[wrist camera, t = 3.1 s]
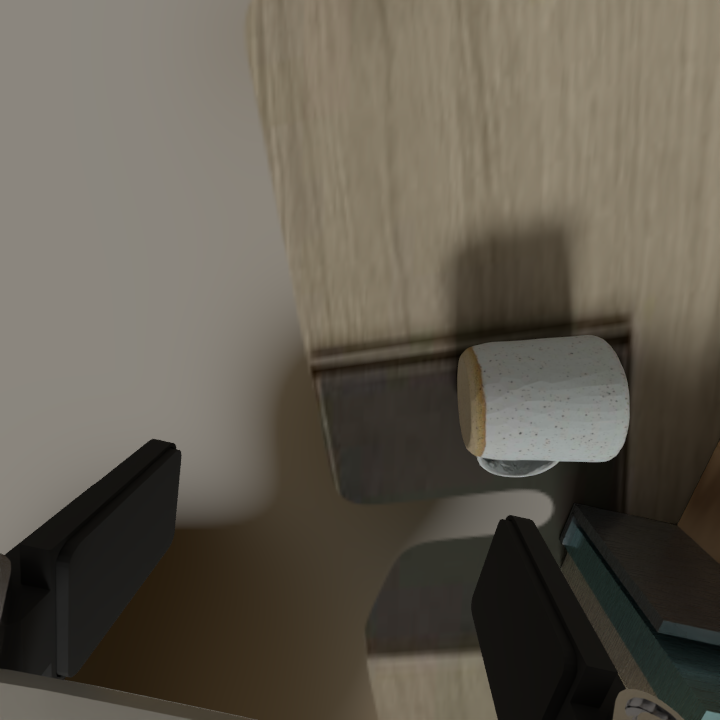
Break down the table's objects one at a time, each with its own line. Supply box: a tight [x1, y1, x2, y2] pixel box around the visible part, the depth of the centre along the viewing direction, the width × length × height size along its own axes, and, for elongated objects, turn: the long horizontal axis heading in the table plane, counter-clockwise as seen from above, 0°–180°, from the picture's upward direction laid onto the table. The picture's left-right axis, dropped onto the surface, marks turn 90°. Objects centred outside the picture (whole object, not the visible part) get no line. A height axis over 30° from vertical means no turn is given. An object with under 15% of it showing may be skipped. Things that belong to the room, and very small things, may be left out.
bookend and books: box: [559, 503, 720, 720], centre depth 25 cm, size 6×8×13 cm
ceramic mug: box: [457, 335, 630, 477], centre depth 25 cm, size 11×8×8 cm
